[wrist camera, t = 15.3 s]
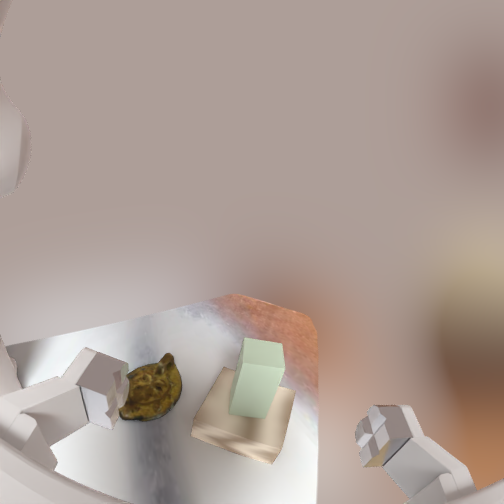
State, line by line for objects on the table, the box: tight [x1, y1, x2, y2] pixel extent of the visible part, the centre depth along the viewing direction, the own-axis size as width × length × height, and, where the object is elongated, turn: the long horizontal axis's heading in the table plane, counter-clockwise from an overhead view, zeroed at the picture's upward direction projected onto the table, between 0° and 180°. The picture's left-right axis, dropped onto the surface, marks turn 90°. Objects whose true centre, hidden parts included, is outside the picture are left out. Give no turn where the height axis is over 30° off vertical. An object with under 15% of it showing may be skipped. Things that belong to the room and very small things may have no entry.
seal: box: [118, 353, 182, 421], centre depth 40 cm, size 9×5×15 cm
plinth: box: [191, 367, 296, 464], centre depth 39 cm, size 12×12×5 cm
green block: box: [229, 337, 285, 419], centre depth 37 cm, size 5×5×10 cm
